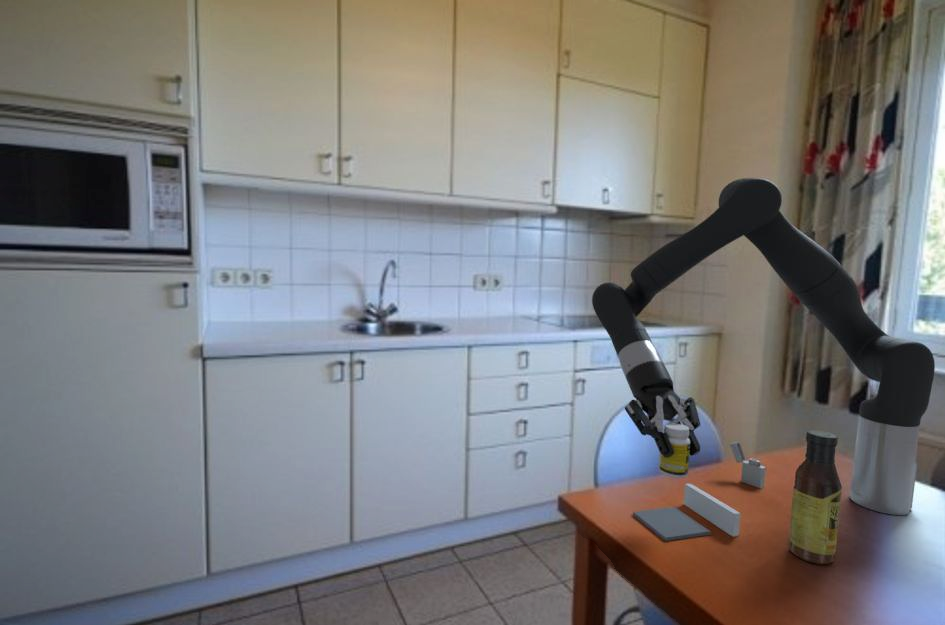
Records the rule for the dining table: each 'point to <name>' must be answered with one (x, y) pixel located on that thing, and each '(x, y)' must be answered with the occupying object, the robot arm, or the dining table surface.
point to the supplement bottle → (676, 451)
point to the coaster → (671, 523)
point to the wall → (712, 509)
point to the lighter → (749, 467)
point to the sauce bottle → (816, 501)
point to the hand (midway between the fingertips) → (682, 454)
